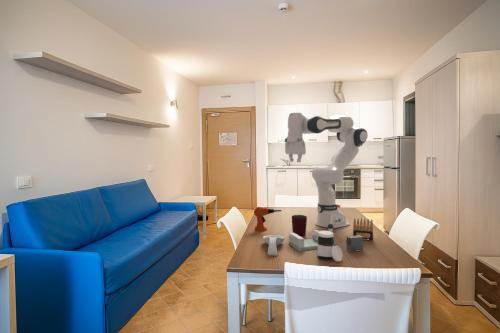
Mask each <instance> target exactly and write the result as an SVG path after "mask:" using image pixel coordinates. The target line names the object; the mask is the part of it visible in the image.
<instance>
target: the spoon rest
mask: <svg viewBox="0 0 500 333" xmlns="http://www.w3.org/2000/svg"><path fill="white" fill-rule="evenodd" d="M262 239H263V241H264V243H266V244H267V245H268V248H267V256H274V257H277V256H278V254H279V253H278V249H277V246H279V245H281V244H283V243H284V241H285V236H282V235H278V234H268V235H264V236H262Z"/></svg>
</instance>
